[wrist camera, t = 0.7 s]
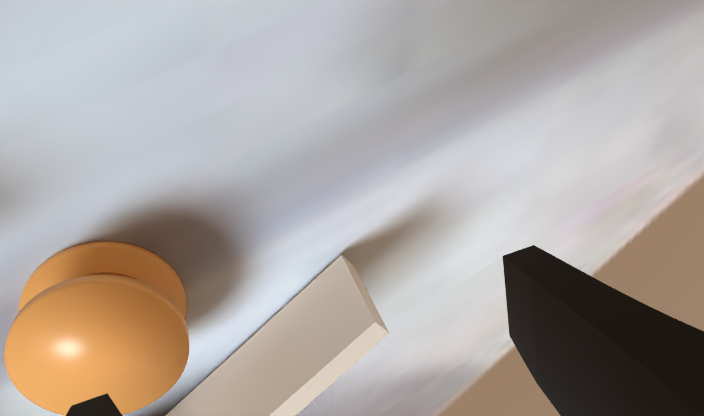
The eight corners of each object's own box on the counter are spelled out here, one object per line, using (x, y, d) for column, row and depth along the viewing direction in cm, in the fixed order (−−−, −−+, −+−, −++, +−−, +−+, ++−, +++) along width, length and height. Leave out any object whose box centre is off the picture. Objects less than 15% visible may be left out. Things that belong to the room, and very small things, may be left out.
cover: (125, 439, 22) (120, 539, 19) (335, 248, 21) (370, 318, 17) (151, 451, 23) (150, 550, 19) (356, 265, 21) (393, 336, 18)
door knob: (90, 386, 21) (82, 442, 19) (-16, 292, 18) (-39, 346, 16) (214, 315, 21) (220, 363, 19) (126, 211, 18) (122, 253, 16)
